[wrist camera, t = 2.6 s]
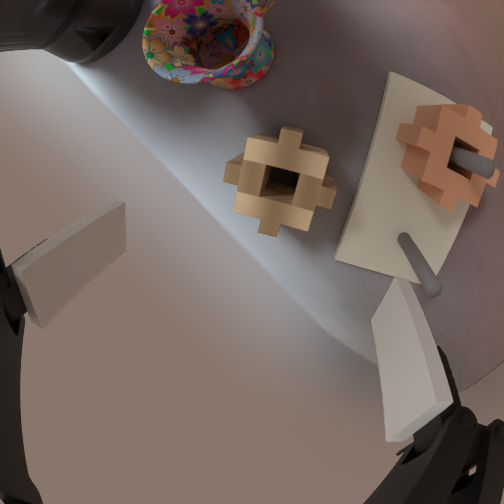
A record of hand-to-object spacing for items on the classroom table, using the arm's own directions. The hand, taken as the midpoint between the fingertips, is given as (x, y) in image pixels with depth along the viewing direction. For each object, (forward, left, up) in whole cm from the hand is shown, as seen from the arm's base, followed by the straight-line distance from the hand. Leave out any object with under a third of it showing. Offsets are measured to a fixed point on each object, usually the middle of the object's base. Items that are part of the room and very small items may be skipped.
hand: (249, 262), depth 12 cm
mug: (-7, +13, -19) cm, 24 cm away
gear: (0, 0, -19) cm, 19 cm away
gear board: (+15, +3, -19) cm, 24 cm away
